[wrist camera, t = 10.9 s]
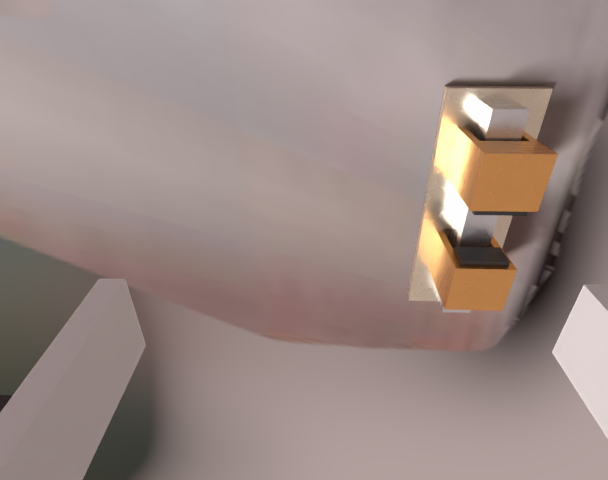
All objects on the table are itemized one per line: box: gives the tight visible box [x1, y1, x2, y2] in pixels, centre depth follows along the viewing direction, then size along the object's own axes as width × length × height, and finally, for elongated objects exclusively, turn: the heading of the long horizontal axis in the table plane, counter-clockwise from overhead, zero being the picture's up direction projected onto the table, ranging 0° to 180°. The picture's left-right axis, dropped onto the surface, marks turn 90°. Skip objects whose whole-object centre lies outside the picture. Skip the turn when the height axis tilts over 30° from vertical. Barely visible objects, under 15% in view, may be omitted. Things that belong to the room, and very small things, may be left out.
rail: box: [407, 86, 558, 313], centre depth 38 cm, size 24×9×8 cm, turn 0°
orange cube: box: [429, 232, 517, 311], centre depth 41 cm, size 6×6×6 cm
